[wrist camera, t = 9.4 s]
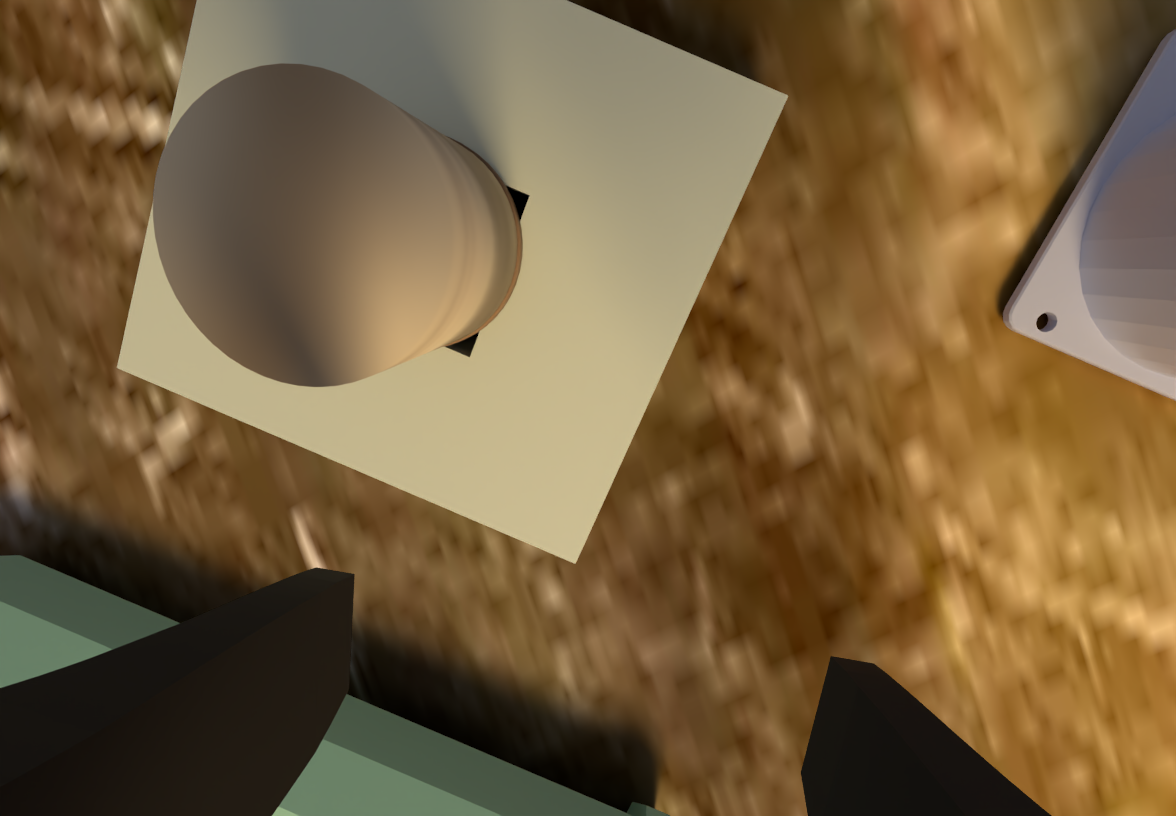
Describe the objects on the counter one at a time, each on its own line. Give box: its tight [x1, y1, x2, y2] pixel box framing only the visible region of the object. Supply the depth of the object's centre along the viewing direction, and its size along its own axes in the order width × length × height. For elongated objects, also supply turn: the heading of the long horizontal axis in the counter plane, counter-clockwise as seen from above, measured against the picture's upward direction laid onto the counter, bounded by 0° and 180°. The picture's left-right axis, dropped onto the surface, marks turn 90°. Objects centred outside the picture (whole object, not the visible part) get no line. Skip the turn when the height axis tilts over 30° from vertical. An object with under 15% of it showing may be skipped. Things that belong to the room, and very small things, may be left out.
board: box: [117, 0, 788, 564], centre depth 17 cm, size 14×13×2 cm
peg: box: [153, 63, 523, 387], centre depth 14 cm, size 5×5×8 cm
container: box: [0, 555, 670, 816], centre depth 20 cm, size 6×6×25 cm
